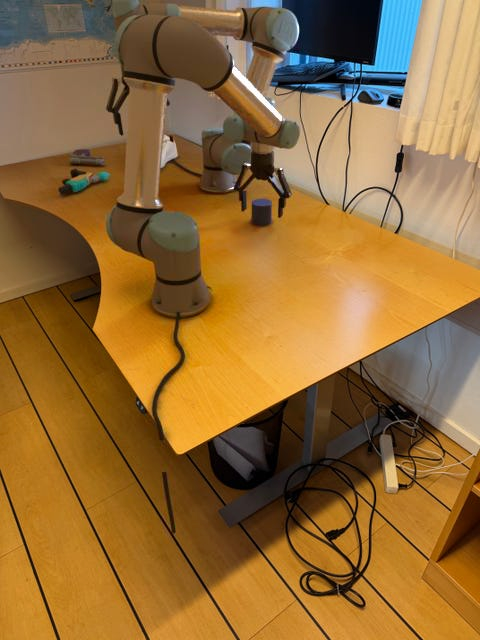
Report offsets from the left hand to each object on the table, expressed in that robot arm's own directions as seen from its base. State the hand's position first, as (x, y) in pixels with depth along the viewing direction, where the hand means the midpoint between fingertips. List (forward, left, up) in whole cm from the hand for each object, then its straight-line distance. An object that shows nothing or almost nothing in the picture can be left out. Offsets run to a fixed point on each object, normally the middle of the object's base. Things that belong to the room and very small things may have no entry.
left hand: (261, 213), depth 164 cm
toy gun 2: (+30, +77, -3) cm, 83 cm away
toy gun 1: (+62, +82, -3) cm, 103 cm away
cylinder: (0, 0, -3) cm, 3 cm away
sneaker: (+60, +50, -3) cm, 78 cm away
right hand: (+5, +40, +25) cm, 48 cm away
